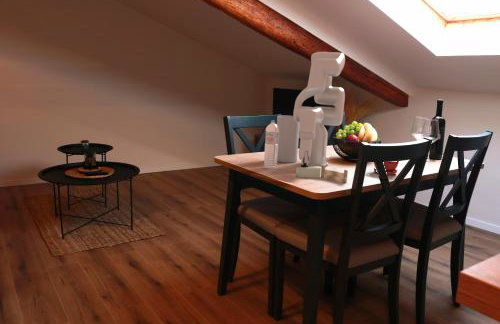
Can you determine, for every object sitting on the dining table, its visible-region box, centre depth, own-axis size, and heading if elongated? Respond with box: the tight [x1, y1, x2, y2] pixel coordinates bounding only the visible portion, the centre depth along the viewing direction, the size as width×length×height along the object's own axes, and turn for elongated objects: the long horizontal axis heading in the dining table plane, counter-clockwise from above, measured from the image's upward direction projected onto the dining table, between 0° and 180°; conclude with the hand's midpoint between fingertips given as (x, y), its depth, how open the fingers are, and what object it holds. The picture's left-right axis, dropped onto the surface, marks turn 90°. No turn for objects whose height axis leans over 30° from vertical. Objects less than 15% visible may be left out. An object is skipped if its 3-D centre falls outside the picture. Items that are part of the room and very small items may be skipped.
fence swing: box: [295, 166, 321, 179], centre depth 198 cm, size 11×2×4 cm, turn 94°
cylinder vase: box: [276, 115, 300, 164], centre depth 235 cm, size 12×12×25 cm
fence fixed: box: [320, 165, 349, 184], centre depth 194 cm, size 14×2×6 cm, turn 47°
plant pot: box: [373, 160, 400, 176], centre depth 217 cm, size 13×13×12 cm
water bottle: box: [263, 119, 279, 170], centre depth 213 cm, size 7×7×25 cm
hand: (303, 173), depth 201 cm, fingers closed
